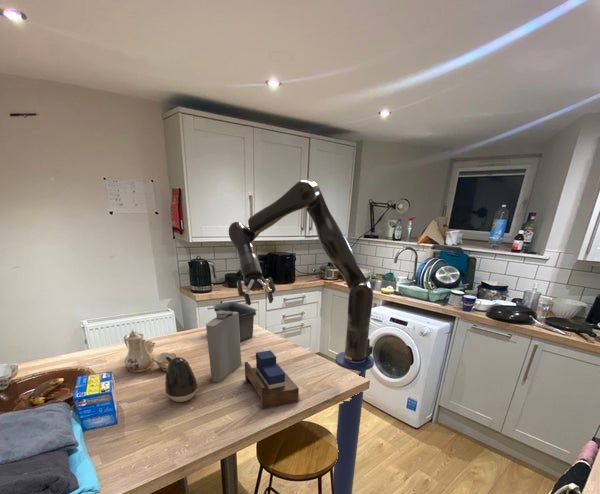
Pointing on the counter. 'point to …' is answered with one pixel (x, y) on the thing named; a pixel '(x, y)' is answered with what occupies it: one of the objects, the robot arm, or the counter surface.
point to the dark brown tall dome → (180, 380)
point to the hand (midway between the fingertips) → (260, 303)
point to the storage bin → (240, 317)
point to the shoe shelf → (275, 394)
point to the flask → (224, 344)
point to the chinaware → (143, 354)
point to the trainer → (269, 370)
